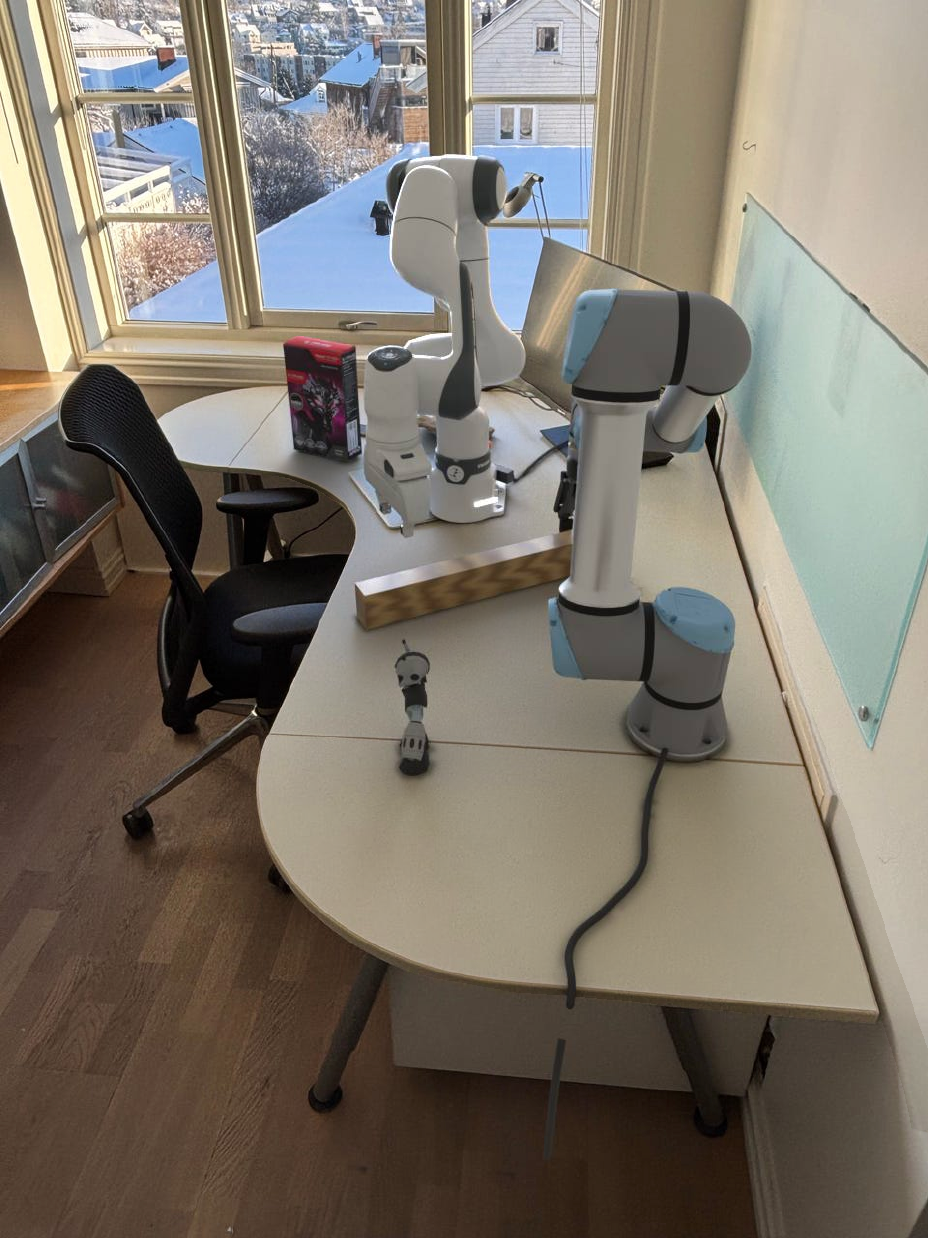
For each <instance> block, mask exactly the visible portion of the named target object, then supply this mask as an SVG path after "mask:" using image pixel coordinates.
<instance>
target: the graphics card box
mask: <svg viewBox="0 0 928 1238" xmlns="http://www.w3.org/2000/svg"><path fill="white" fill-rule="evenodd" d="M282 346H283V355H284V365H285V374H286V375H285V376H286V383H287V384H286V386H287V394H288V405H289V414H290V423H291V425H290V427H291V436H292V444H293V445H292V447H293V451H294V450H296V451H299V452H304V453H307V454H312V455H315V456H316V455H317V456H321V457H325V458H329V459H332V460H338V461H342V462H346V463H349V462H351V461H352V460H354V459H355V458H357V457H358V456H361V455H362V453H363V447H362V431H361V429H362V428H361V416H360V415H361V414H360V402H359V401H360V400H359V384H358V367H357V366H358V364H357V347H356V345H355V344H346V343H340V342H335V341H329V340H324V339H319V338H313V337H309V336H304V335H296V336H292V337H291V338H289V339H288V340H286V341H285V342H284V343H283V344H282Z"/></svg>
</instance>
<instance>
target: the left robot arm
mask: <svg viewBox="0 0 928 1238" xmlns="http://www.w3.org/2000/svg"><path fill="white" fill-rule="evenodd" d="M386 174H387V175H386V178H385V197H386V203H387V208H388V209H389V211H390V213H391V214H392V215H393V219H392V224H391V232H390V241H389V258H390V262H391V264H392V266H393V268H394V270H395V272H396V273H397V275H398V276H399V277H400V278H401V279H402V280H403V281H404V282H405V283H406V284H408V285H409V286H411V287H412V288H414V289H415V290H417V291H420V292H422V293H423V294H426V295H428V296H431V297H433V298H434V301H435V302H436V305H437V306H439V308H440V309H442V310H443V311H445V312H447V313H449V314H450V332H447V333H445V332H444V333H434V334H433V333H432V334H428V335H423V336H421V337H417V338H414V339H411V340H408V341H407V343H406V344H405V345H404V347H403V346H398V345H385V346H381V347H377V348H375V349H373V350H372V351H370V352H369V354H368V355H367V357H366V359H365V365H364V366H365V367H364V375H363V408H364V413H365V416H366V425H365V445H364V448H363V473H364V477H365V480H366V481H367V482H368V483H369V484H370V486H372V488H373V489H374V492H375V495H376V499H377V502H378V510H379V512H380V513H381V514H382V515H388V514H391V513H392V511H393V510H394V511H395V512H396V513H397V514H398V515H399V516H400V517H401V521H402V524H401V525H400V527H399V529H400V531H399V532H400V535H401V536H402V537H403V538H404V539H407V538H408V539H409V538H412V537H413V536H414V528H415V525H416V524H419V523H423V522H425V521H427V520H428V518H429V516H430V513H431V514H432V515H433V516H434V517H436V518H438V519H439V520H443V521H446V522H449V523H459V524H460V523H461V524H467V523H476V522H480V521H484V520H486V519H489V518H492V517H500V516H502V515H504V514H505V507H506V504H505V503H506V494H507V493H506V491H507V485H508V484H511V483H512V482H515V483H516V482H518V481H519V480H521V479H522V478H524V477H525V476H526V474H527V473H528V472H529V471H530V470H531V469H532V468H533V467H534V466H536V464H538V463H539V462H540V461H541V460H542V459H544V458H545V457H546V456H548V455H549V454H550V453H552V452H554V451H555V450H557V449H559V448H561V447H563V446H564V445H567V444H569V438H568V439H565V440H563V441H561V442H560V443H558V444H556V445H554V446H553V447H550V448H549V449H548V450H546V451H545V452H544V453H542V454H541V455H540V456H539V457H537V458H536V459H535V460H534V461H533V462H532V463H530V464H529V465H528V466H527V467H526V468H524V470H523V471H522V473H521V474H520V475H519V476H518V477H515V470H514V469H511V468H509V467H506V466H503V465H500V464H497V463H493V462H492V452H491V449H492V440H490V438H489V427H490V417H489V415H488V412H487V411H486V410H485V408H484V407H483V406H481V405H479V404H480V401H481V397H482V387H487V386H488V387H489V386H498V385H501V384H504V383H507V382H511V381H514V380H516V379H518V378H519V377H520V375H522V372H523V371H524V367H525V365H526V357H527V356H526V355H527V354H526V349H525V346H524V343H523V341H522V339H521V338H520V337H519V336H518V334H516V333H515V332H514V331H512V329H510V328H509V327H508V326H507V325H506V324H505V323H504V321H502V319H501V317H500V316H499V314H498V312H497V309H496V307H495V304H494V301H493V296H492V288H491V287H492V286H491V273H490V272H491V271H490V268H491V267H490V243H489V242H490V241H489V231H488V226H489V225H490V223H491V221H493V220H495V219H497V217H498V216H499V215H500V214H501V213H502V211H503V210H504V207H505V203H506V199H507V196H508V181H507V176H506V172H505V169H504V165H503V164H502V163H501V162H500V161H499V159H497V158H496V157H493V156H488V155H482V154H479V155H478V156H474V155H467V154H466V155H464V154H443V155H437V156H436V155H435V156H428V157H421V158H420V157H419V158H415V159H414V158H412V157H409V158H405V159H401V160H398V161H396V162H395V163H393V165H392V166H391V168H390V169H389V170H388V172H387V173H386ZM419 415H431V416H435V420H436V430H437V438H436V447H435V449H434V467H433V466H432V462H431V460H430V459H429V457H428V456H427V454H426V452H425V450H424V447H423V443H422V441H421V432H420V431H421V430H420V428H419V426H418V423H417V416H419ZM431 508H432V509H431ZM392 509H393V510H392Z"/></svg>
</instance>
